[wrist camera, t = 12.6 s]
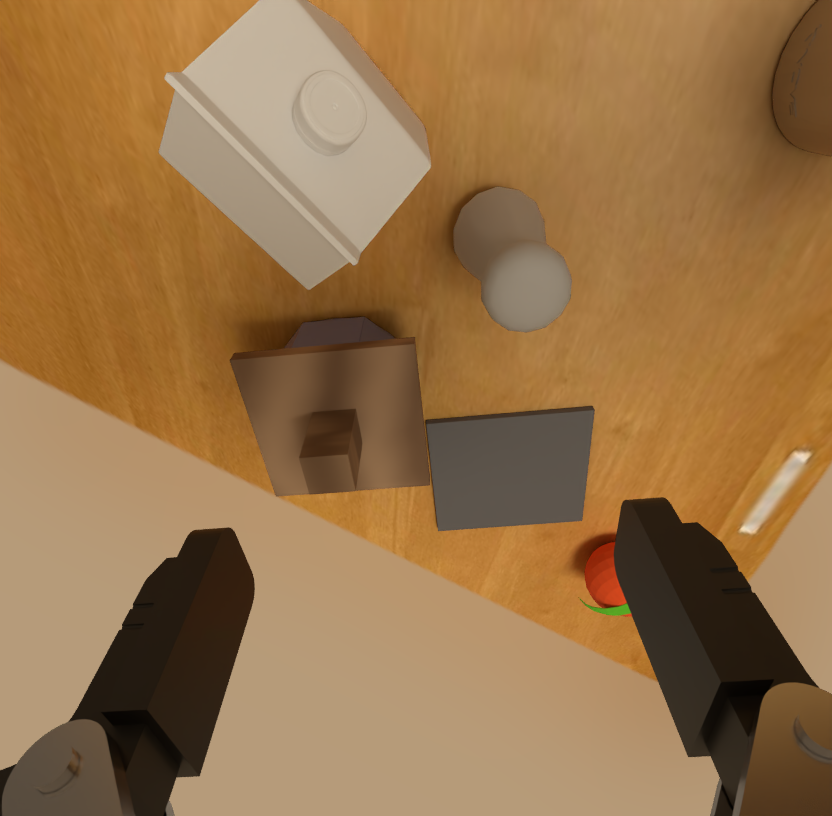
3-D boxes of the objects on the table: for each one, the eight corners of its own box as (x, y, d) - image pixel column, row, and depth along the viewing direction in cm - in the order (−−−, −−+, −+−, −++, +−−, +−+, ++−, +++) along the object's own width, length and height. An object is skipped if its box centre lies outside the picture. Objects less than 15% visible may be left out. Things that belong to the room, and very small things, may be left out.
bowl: (408, 309, 38) (407, 342, 33) (422, 430, 44) (423, 472, 39) (261, 323, 38) (240, 358, 34) (296, 441, 44) (282, 483, 40)
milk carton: (347, 210, 34) (287, 332, 18) (262, 121, 31) (100, 172, 15) (426, 127, 31) (437, 184, 15) (340, 21, 28) (244, -45, 12)
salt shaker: (444, 261, 36) (456, 344, 25) (459, 174, 32) (480, 224, 22) (524, 273, 36) (571, 358, 25) (547, 187, 33) (611, 244, 22)
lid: (414, 337, 33) (414, 384, 28) (429, 476, 39) (431, 535, 34) (234, 353, 33) (202, 402, 28) (279, 487, 40) (259, 546, 35)
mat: (592, 406, 42) (594, 410, 42) (580, 516, 49) (582, 520, 49) (426, 420, 43) (426, 424, 43) (437, 526, 50) (438, 531, 50)
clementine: (574, 580, 55) (593, 642, 49) (559, 540, 51) (578, 601, 46) (649, 562, 53) (678, 623, 47) (639, 519, 50) (669, 579, 44)
